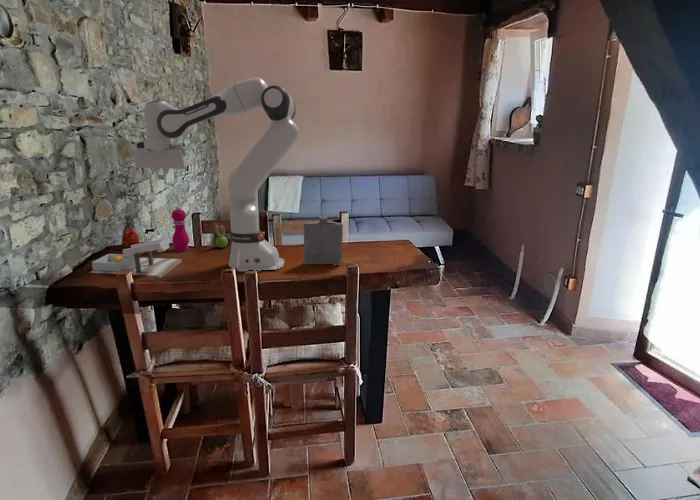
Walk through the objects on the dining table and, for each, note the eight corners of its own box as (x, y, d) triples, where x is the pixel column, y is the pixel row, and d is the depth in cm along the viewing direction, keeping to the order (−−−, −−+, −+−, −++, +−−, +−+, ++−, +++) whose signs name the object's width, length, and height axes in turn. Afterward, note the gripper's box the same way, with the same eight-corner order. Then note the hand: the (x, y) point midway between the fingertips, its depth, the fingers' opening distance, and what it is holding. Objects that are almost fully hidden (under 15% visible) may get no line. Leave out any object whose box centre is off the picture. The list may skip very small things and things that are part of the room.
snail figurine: (212, 248, 203) (210, 223, 200) (220, 245, 209) (219, 220, 205) (221, 250, 201) (220, 224, 198) (230, 246, 207) (229, 221, 204)
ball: (115, 254, 173) (116, 263, 174) (109, 257, 169) (110, 267, 171) (125, 255, 173) (126, 265, 174) (120, 258, 169) (120, 268, 170)
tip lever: (181, 239, 182) (178, 231, 181) (161, 252, 166) (158, 242, 165) (146, 247, 184) (143, 238, 183) (123, 259, 167) (120, 250, 166)
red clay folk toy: (118, 249, 198) (114, 216, 193) (132, 246, 204) (129, 214, 200) (130, 252, 194) (126, 219, 190) (144, 248, 200) (140, 216, 196)
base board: (182, 261, 184) (180, 241, 182) (159, 278, 165) (157, 256, 163) (118, 258, 186) (116, 239, 183) (89, 275, 166) (85, 253, 164)
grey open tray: (135, 263, 177) (134, 255, 176) (120, 272, 167) (119, 263, 166) (109, 262, 178) (108, 254, 177) (93, 271, 168) (91, 262, 167)
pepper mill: (184, 252, 196) (180, 208, 190) (169, 251, 197) (165, 207, 192) (193, 248, 203) (190, 205, 197) (179, 247, 204) (175, 204, 198)
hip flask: (303, 264, 184) (303, 217, 179) (304, 261, 188) (304, 215, 183) (341, 265, 185) (343, 218, 179) (342, 262, 188) (343, 216, 183)
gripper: (188, 144, 178) (190, 179, 182) (138, 143, 179) (142, 177, 183) (181, 145, 172) (184, 181, 176) (130, 143, 173) (133, 179, 177)
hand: (162, 179), depth 179 cm, fingers closed
